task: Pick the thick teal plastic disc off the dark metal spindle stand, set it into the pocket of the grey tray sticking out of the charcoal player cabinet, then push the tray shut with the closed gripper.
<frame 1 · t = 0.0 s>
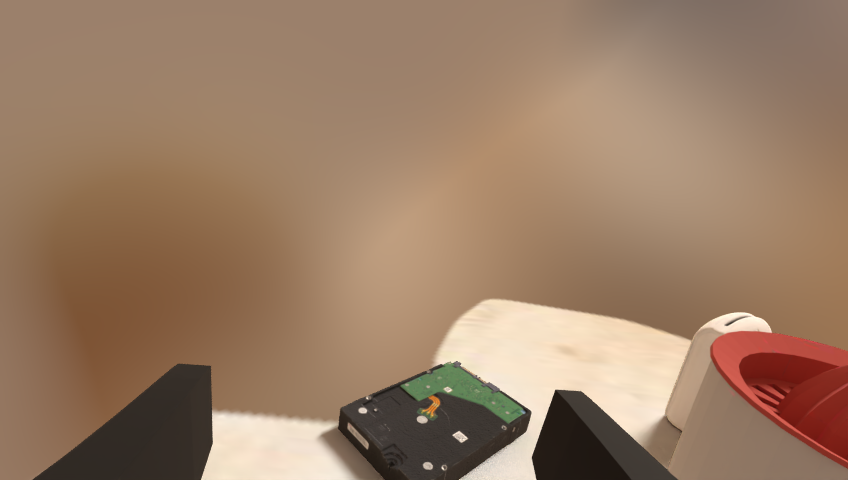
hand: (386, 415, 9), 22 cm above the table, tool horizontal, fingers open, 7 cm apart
photo printer: (700, 418, 49), on the table
disk drive: (435, 435, 41), on the table
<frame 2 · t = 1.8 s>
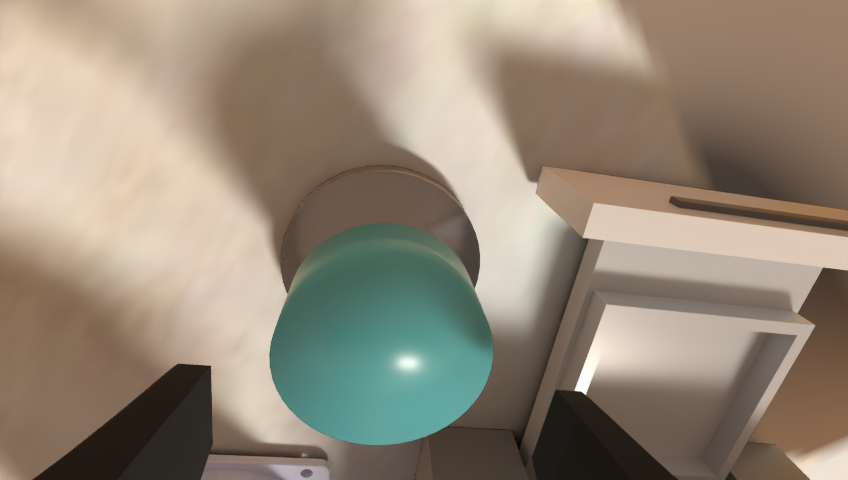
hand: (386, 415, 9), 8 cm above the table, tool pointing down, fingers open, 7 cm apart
tray: (678, 391, 18), point 2 cm above the table, slide at 9.0 cm
spindle stand: (382, 258, 17), on the table
disc: (383, 309, 13), point 3 cm above the table, touching spindle stand
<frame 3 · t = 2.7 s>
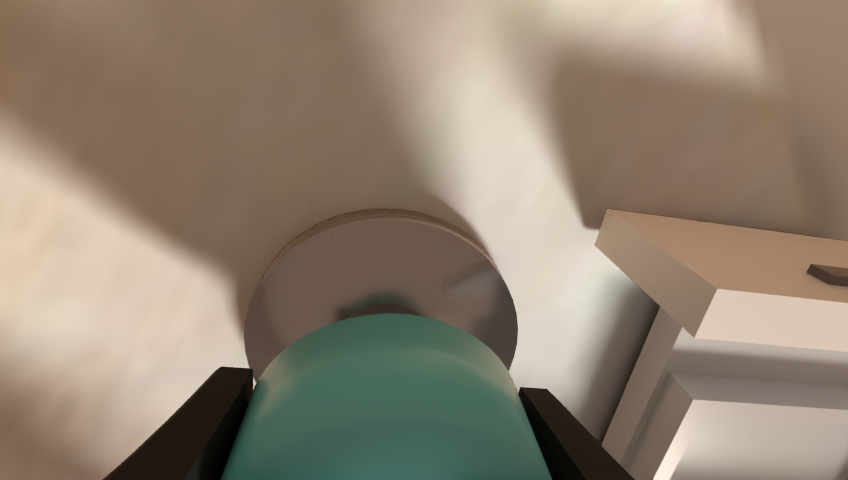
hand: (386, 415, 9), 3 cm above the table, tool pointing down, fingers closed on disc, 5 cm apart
spindle stand: (384, 328, 12), on the table
disc: (386, 428, 9), point 3 cm above the table, touching gripper, spindle stand
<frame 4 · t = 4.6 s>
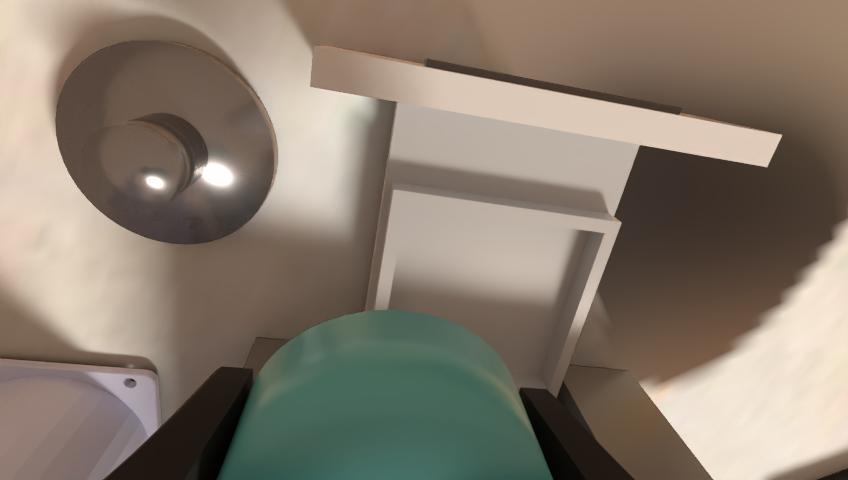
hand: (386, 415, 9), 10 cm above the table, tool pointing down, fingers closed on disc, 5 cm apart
player cabinet: (435, 434, 23), on the table
tray: (489, 292, 17), point 2 cm above the table, slide at 9.0 cm
spindle stand: (178, 146, 16), on the table
disc: (385, 425, 9), point 10 cm above the table, touching gripper
when the fingers open (3 cm above the table, at t = 6.6 s): disc drops 2 cm, resting on tray.
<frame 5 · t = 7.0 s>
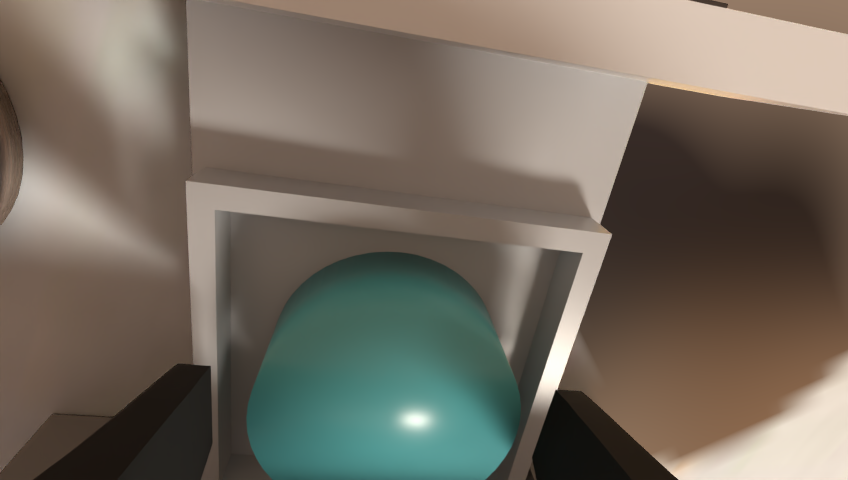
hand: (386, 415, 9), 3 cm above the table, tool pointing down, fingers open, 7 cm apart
tray: (390, 353, 10), point 2 cm above the table, slide at 9.0 cm, touching disc
disc: (386, 349, 11), point 1 cm above the table, touching tray
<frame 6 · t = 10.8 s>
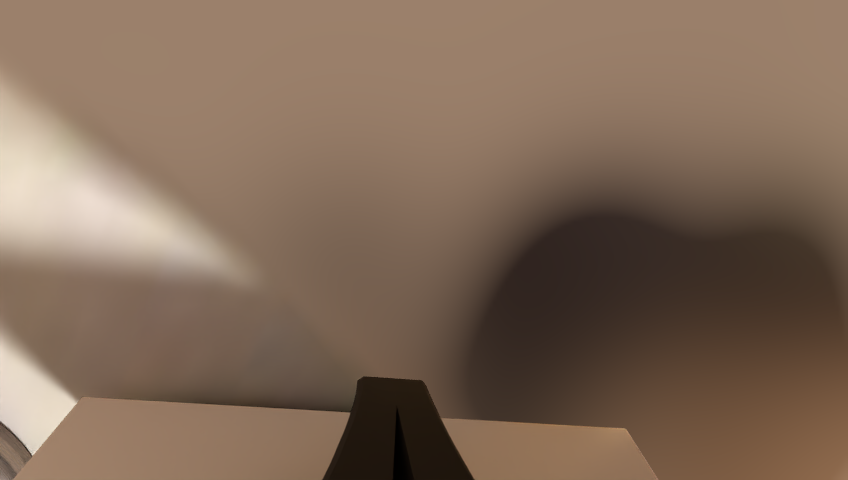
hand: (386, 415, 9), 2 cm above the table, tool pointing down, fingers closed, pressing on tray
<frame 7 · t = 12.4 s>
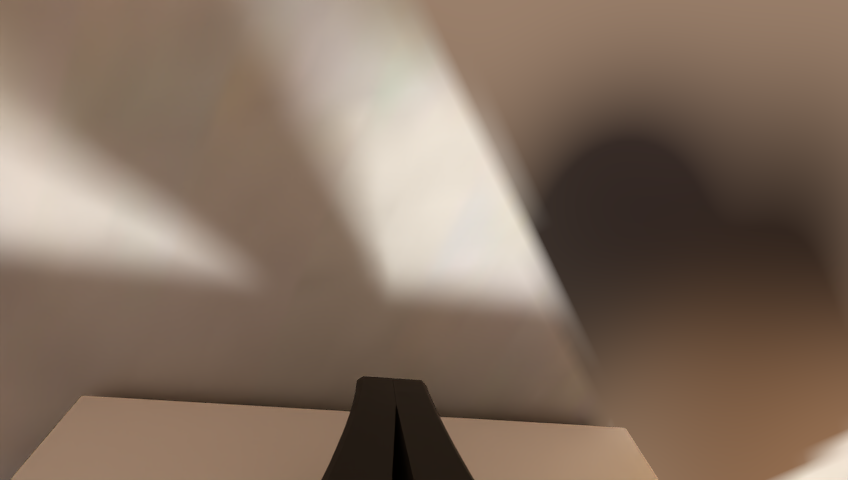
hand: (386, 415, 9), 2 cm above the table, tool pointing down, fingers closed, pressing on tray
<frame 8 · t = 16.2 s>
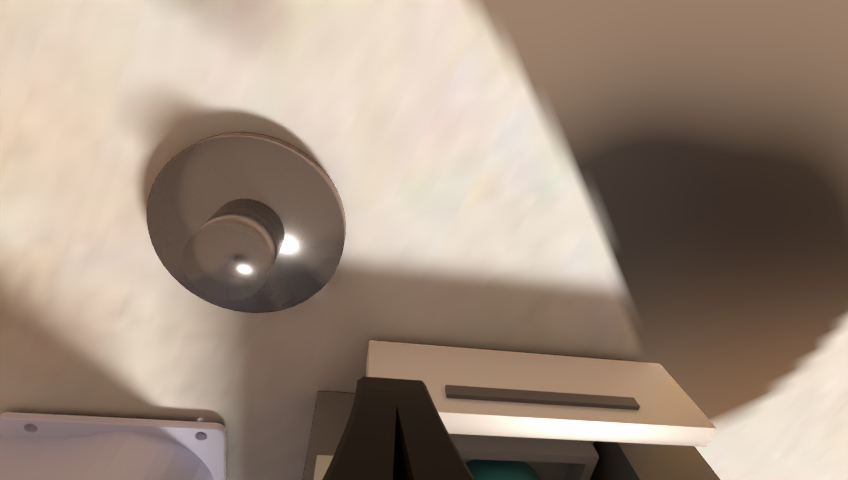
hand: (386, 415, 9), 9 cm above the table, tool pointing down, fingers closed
player cabinet: (482, 474, 24), on the table
spindle stand: (254, 224, 17), on the table
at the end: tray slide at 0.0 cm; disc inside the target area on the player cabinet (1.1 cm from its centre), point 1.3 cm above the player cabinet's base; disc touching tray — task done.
